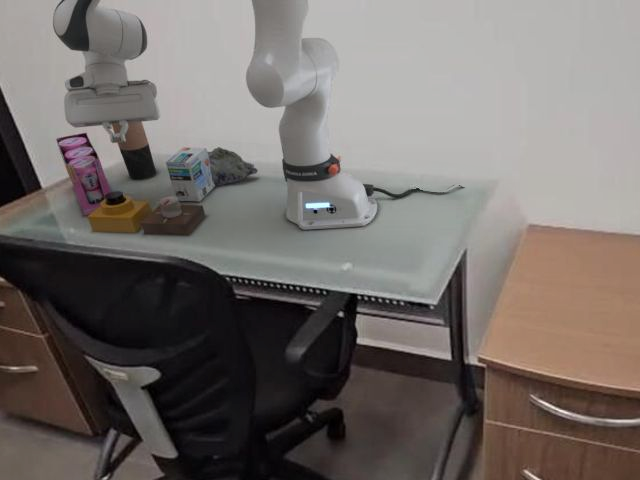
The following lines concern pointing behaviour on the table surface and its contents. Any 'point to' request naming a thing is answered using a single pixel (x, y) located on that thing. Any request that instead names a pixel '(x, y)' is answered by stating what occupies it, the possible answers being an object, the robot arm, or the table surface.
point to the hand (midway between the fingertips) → (118, 141)
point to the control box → (120, 216)
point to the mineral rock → (228, 166)
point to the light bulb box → (190, 174)
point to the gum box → (84, 171)
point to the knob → (170, 207)
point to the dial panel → (174, 221)
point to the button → (115, 198)
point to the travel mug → (136, 151)
